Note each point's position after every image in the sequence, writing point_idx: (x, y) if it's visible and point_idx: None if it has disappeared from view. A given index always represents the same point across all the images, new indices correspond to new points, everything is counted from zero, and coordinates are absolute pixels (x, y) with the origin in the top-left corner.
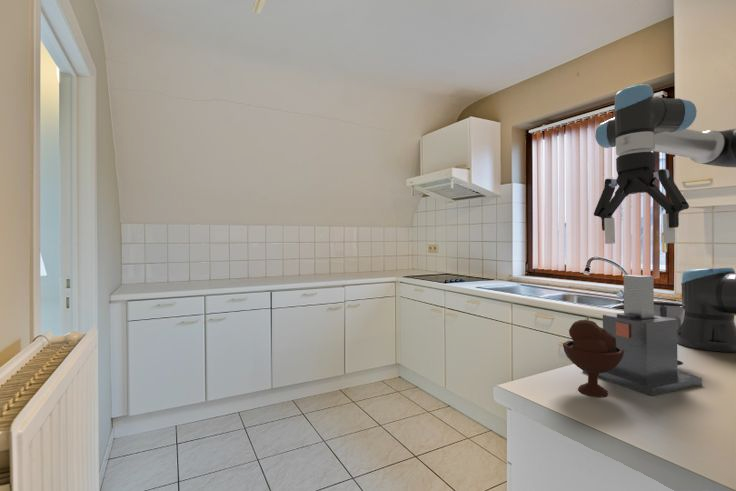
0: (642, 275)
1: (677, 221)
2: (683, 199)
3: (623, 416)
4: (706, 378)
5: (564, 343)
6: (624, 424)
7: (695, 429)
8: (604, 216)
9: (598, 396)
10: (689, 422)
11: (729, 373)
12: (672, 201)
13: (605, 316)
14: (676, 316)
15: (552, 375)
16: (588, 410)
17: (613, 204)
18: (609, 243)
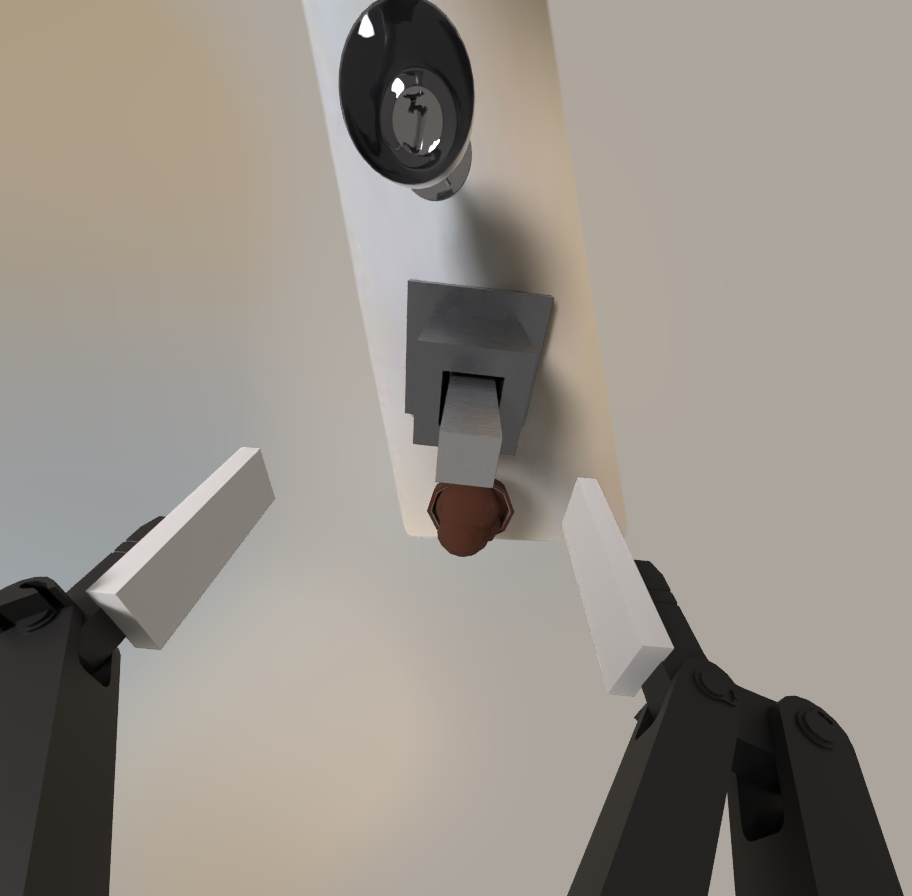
0: (470, 443)
1: (669, 607)
2: (857, 845)
3: (530, 501)
4: (543, 234)
5: (437, 527)
6: (539, 515)
7: (590, 474)
8: (116, 660)
9: None
10: (580, 462)
11: (565, 121)
12: (732, 833)
13: (420, 443)
14: (465, 151)
15: (402, 460)
16: None
17: (110, 819)
18: (271, 488)
